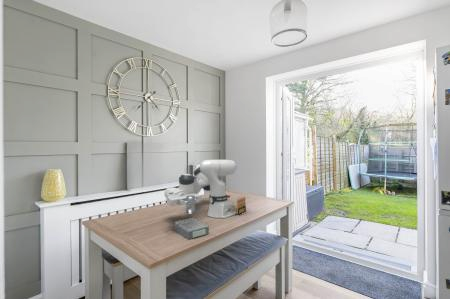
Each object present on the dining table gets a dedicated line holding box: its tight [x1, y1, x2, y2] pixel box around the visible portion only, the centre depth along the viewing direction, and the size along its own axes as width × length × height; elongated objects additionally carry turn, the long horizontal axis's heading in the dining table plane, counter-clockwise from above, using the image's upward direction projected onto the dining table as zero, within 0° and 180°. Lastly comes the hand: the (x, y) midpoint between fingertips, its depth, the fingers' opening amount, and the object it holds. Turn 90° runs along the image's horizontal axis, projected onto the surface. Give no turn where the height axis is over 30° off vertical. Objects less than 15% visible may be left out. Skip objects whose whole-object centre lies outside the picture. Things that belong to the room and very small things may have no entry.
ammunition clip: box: [235, 196, 247, 216], centre depth 168 cm, size 11×2×12 cm, turn 143°
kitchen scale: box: [172, 217, 210, 240], centre depth 133 cm, size 13×18×5 cm
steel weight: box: [185, 196, 196, 215], centre depth 133 cm, size 5×5×9 cm
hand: (191, 202), depth 132 cm, fingers closed on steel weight, 5 cm apart
